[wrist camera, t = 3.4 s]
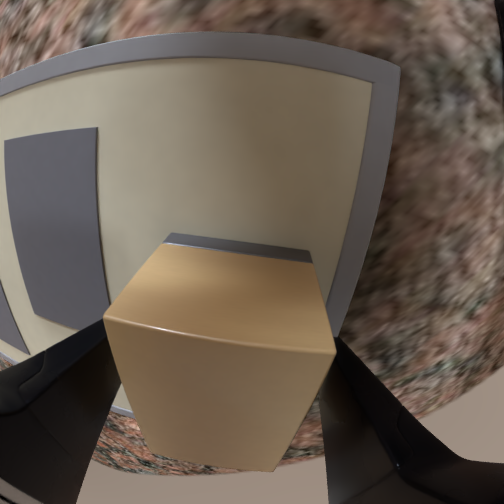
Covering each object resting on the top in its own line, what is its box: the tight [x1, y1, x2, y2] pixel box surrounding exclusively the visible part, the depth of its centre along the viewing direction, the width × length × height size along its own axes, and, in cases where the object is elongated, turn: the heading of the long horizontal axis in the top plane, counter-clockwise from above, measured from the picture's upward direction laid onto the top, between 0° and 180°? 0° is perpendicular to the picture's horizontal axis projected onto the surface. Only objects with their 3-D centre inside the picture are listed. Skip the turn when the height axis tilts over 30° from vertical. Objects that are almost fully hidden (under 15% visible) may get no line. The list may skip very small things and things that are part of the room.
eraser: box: [103, 233, 337, 472], centre depth 7 cm, size 4×6×4 cm, turn 173°
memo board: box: [0, 32, 401, 419], centre depth 9 cm, size 23×17×1 cm
